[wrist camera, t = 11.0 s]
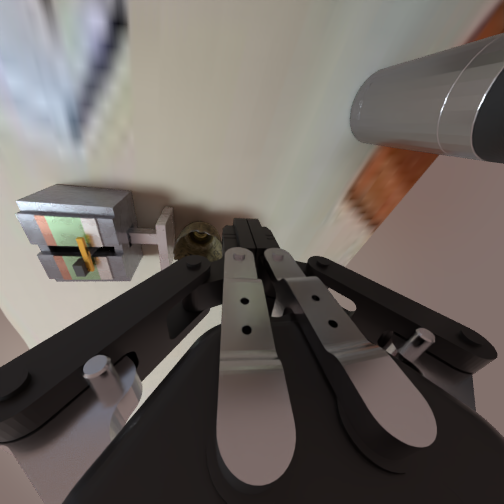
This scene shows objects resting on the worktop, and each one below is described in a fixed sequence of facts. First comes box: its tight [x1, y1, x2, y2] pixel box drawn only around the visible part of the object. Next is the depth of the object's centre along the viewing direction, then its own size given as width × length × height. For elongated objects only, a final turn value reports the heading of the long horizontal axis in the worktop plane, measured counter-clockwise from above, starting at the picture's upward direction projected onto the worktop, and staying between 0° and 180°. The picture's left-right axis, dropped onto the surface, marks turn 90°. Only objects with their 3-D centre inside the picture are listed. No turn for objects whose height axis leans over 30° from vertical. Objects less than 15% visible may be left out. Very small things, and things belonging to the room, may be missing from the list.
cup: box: [173, 222, 222, 262], centre depth 32 cm, size 8×7×8 cm
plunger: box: [76, 207, 175, 272], centre depth 29 cm, size 10×8×9 cm
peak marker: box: [72, 258, 90, 277], centre depth 26 cm, size 1×2×2 cm, turn 171°
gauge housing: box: [16, 184, 143, 281], centre depth 29 cm, size 10×12×8 cm
